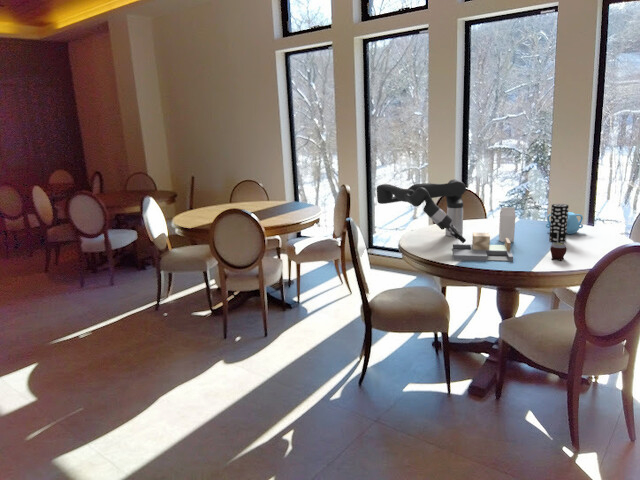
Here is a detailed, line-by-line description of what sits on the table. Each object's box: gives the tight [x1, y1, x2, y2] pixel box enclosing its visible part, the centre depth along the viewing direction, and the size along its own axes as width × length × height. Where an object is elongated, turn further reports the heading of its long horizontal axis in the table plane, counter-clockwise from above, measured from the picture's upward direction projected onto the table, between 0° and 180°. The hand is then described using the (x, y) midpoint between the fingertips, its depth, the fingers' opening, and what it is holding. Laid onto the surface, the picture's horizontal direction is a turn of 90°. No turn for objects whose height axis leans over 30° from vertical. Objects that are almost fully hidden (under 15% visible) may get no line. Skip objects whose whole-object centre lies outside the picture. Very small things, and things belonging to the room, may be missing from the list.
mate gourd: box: [549, 232, 568, 262], centre depth 241 cm, size 8×8×15 cm
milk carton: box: [498, 206, 516, 243], centre depth 280 cm, size 7×7×19 cm
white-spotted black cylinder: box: [548, 203, 570, 243], centre depth 274 cm, size 8×8×20 cm
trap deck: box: [452, 238, 514, 262], centre depth 255 cm, size 28×22×6 cm
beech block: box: [471, 232, 491, 250], centre depth 259 cm, size 8×8×7 cm
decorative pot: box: [545, 209, 584, 235], centre depth 293 cm, size 16×16×14 cm
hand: (464, 241), depth 261 cm, fingers closed
